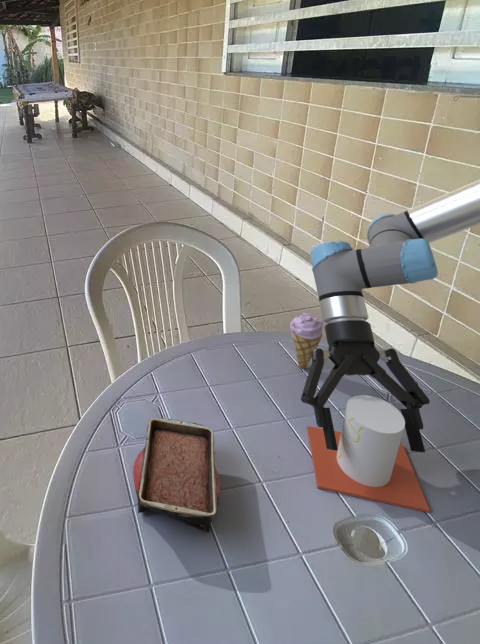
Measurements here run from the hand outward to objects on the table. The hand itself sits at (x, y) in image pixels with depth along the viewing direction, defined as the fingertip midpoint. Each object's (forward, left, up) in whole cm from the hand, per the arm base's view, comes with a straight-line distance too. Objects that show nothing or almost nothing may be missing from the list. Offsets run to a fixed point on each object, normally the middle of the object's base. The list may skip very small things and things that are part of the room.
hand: (374, 450), depth 71 cm
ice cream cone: (+8, -27, -7) cm, 29 cm away
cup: (+1, -2, -6) cm, 6 cm away
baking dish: (+32, +11, -7) cm, 34 cm away
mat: (+1, -2, -6) cm, 7 cm away
